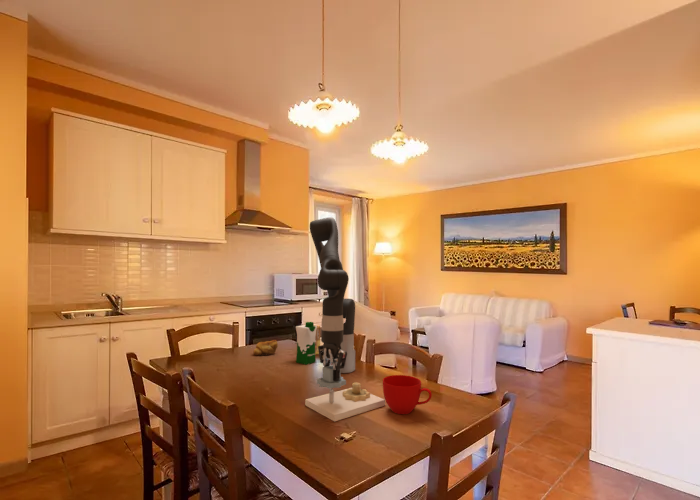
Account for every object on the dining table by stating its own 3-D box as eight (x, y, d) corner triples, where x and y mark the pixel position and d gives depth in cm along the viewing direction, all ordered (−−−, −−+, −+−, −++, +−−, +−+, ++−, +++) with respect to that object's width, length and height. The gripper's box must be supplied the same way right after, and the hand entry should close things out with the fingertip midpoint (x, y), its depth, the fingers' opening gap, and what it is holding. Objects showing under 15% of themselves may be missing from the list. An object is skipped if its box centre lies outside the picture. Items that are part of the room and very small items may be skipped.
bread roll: (255, 357, 195) (255, 342, 196) (250, 353, 204) (250, 339, 204) (279, 354, 202) (279, 339, 202) (273, 351, 210) (273, 336, 211)
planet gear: (334, 377, 134) (334, 362, 134) (351, 384, 126) (352, 368, 126) (311, 383, 127) (311, 366, 128) (328, 390, 120) (328, 373, 120)
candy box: (318, 352, 208) (318, 324, 209) (320, 354, 204) (320, 326, 205) (302, 353, 205) (303, 325, 206) (304, 355, 201) (304, 326, 202)
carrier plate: (353, 392, 144) (354, 374, 144) (384, 405, 130) (385, 385, 131) (305, 405, 130) (305, 385, 130) (334, 421, 117) (334, 399, 117)
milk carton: (306, 365, 181) (307, 324, 182) (292, 362, 186) (293, 322, 187) (318, 361, 188) (318, 322, 189) (304, 359, 193) (305, 320, 194)
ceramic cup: (424, 424, 115) (424, 391, 116) (375, 412, 124) (375, 382, 125) (437, 411, 126) (438, 381, 127) (392, 400, 135) (392, 372, 136)
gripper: (354, 330, 124) (353, 382, 124) (329, 324, 135) (328, 372, 135) (336, 332, 120) (335, 386, 119) (311, 326, 131) (310, 375, 130)
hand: (331, 378), depth 127 cm, fingers closed on planet gear, 4 cm apart
